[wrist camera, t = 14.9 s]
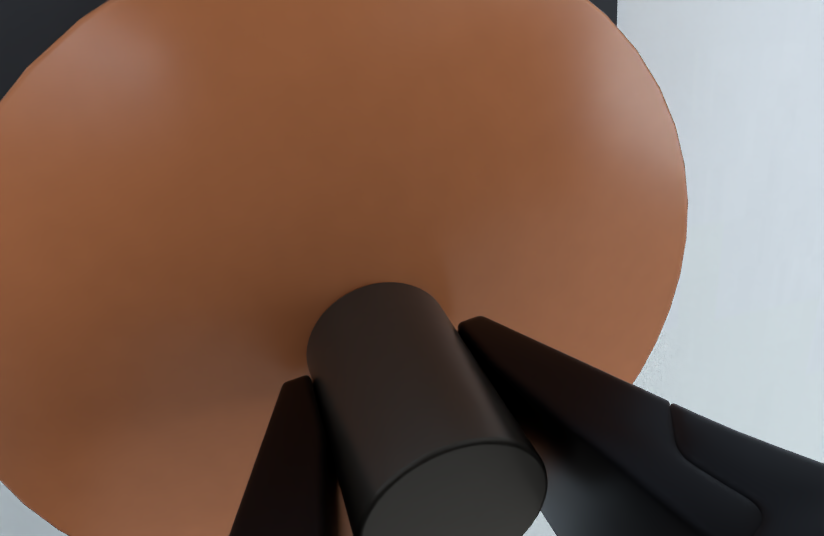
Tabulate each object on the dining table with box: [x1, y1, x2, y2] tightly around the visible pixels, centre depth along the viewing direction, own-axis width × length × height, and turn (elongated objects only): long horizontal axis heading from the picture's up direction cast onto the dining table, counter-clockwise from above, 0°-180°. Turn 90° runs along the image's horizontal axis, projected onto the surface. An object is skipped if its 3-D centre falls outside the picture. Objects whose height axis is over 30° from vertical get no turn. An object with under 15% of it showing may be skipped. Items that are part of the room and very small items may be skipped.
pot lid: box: [0, 0, 688, 536], centre depth 8 cm, size 12×12×4 cm
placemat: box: [0, 0, 617, 101], centre depth 17 cm, size 20×24×1 cm
